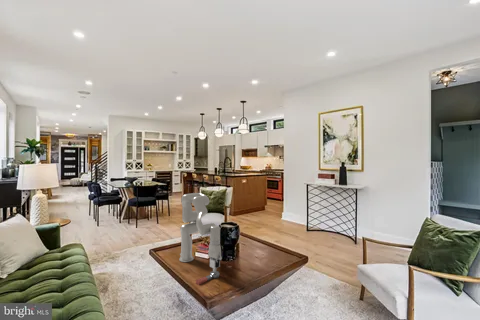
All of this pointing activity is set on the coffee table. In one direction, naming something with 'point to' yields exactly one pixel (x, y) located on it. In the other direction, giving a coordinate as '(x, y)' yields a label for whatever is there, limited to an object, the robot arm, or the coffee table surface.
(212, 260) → the socket
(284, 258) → the coffee table surface
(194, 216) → the robot arm
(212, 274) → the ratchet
